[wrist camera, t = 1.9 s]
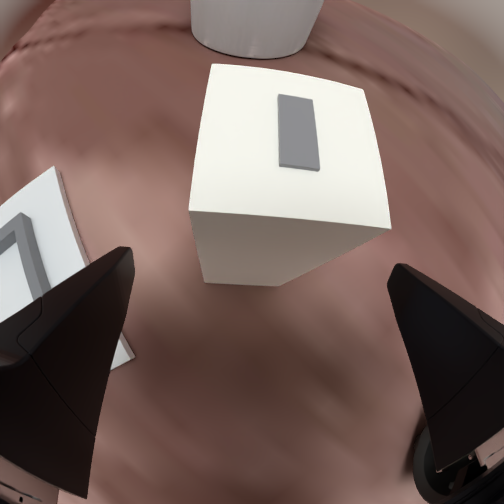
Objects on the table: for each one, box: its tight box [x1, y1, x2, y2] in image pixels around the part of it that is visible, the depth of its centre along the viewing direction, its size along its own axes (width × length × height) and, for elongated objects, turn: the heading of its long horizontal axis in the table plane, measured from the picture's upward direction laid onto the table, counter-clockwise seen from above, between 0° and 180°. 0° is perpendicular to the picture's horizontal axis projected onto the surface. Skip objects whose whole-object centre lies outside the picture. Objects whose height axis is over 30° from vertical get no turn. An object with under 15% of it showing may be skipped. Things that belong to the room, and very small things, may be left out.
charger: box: [189, 64, 391, 286], centre depth 13 cm, size 5×5×13 cm
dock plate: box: [0, 166, 135, 370], centre depth 15 cm, size 16×16×3 cm
